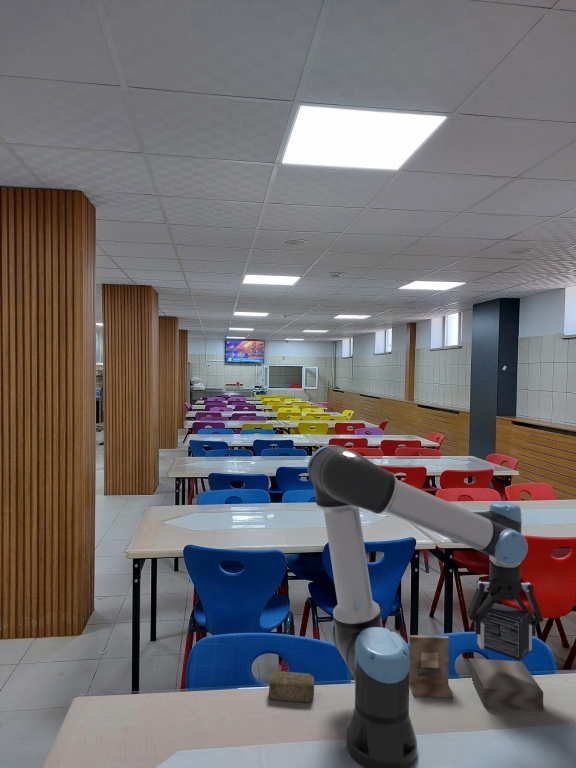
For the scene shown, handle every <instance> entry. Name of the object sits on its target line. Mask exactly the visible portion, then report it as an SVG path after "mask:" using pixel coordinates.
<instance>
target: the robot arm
mask: <svg viewBox="0 0 576 768" xmlns="http://www.w3.org/2000/svg"><path fill="white" fill-rule="evenodd" d="M307 474H308V478H309V480H310V482H311V483H312V484H313V490H314V497H315V502H316V506H317V507H318V508H320V509H321V510H322V511H323V513H324V522H325V526H326V527H325V528H326V536H327V540H328V541H327V543H328V549H329V554H330V555H329V556H330V561H331V567H332V574H333V583H334V588H335V594H336V601H337V605H335V607H334V608H333V611H332V616H333V618H332V619H333V620H332V624H331V636H332V639H333V643H334V646H335V648H336V650H337V651H338V653H339V654H340V655H341V658H342V659H343V660H344V662H345V664H346V666H347V667H348V669H349V670H350V672H351V674H352V676H353V679H354V709H353V712H352V714H351V717H350V720H349V723H348V726H347V728H346V729H347V730H346V749H347V752H348V753H349V754H350V757H352V758H353V760H354V761H356V762H357V763H358V764H359V765H361V766H362V767H365V768H410V767H411V766H412V765H414V763H415V761H416V759H417V753H418V740H417V737H416V734H415V730H414V727H413V724H412V723H413V722H412V719H411V716H410V712H409V711H410V685H409V675H410V658H409V657H410V648H409V646H408V644H407V642H406V640H405V639H404V638H403V636H401V635H400V634H399V633H397V632H396V631H391V630H390V629H389V628H385V627H384V626H383V621H382V620H383V619H382V613H381V608H380V605H379V604H378V603H377V602H375V601H374V600H373V594H372V588H371V582H370V581H371V580H370V575H369V569H368V568H369V566H368V561H367V554H366V549H365V541H364V533H363V528H362V520H361V514H360V509H364V510H367V511H369V512H371V513H374V514H377V515H380V514H383V513H386V514H389V515H392V516H393V517H396V518H399V519H401V520H404V521H405V522H408V523H411V524H414V525H416V526H419V527H421V528H423V529H425V530H428V531H431V532H433V533H435V534H437V535H440V536H443V537H445V538H448V539H449V541H451V542H452V543H454V544H461V545H464V546H467V547H470V548H472V549H475V550H476V551H478V552H481V553H484V554H486V555H488V557H489V561H490V562H489V578H488V581H481V580H480V579H478V580H477V581H476V589H475V592H474V594H473V596H472V599H471V602H470V603H469V607H468V609H467V612H466V616H467V617H468V618H469V619H470V621H473V631H474V633H475V634H476V635H477V645H478V647H479V649H480V650H484V649H485V648H484V623H483V621H482V620H483V618H484V617H485V616H486V614H487V613H488V611H489V610H490V609H491V607H492V606H493V605H494V603H498V601H499V600H500V601H506V600H507V601H513V600H514V601H515V603H516V604H517V605H518V607H519V609H520V610H522V611H524V612H528V613H529V651H533V650H532V649H533V647H532V646H533V637H535V635H536V626H538V623H543V621H544V617H543V615H542V612H541V610H540V607H539V604H538V602H537V599H536V596H535V594H534V593H535V592H534V589H535V587H534V585H533V584H532V583H530V582H529V581H525V582H522V581H521V579H522V577H521V576H522V571H521V570H522V567H521V565H520V564H521V563H522V561H524V559H526V556H527V554H528V551H529V545H528V541H527V539H526V538H525V536H524V535H523V534H522V523H523V521H522V511H521V507H520V506H519V505H518V504H517V503H513V502H510V501H509V502H508V501H493V502H491V503H490V505H489V510H488V511H470V510H468V509H466V508H464V507H461V506H458V505H457V504H454V503H452V502H449V501H447V500H445V499H443V498H440V497H438V496H435V495H433V494H431V493H428V492H427V491H424V490H423V489H419V488H417V487H415V486H413V485H410V484H408V483H406V482H403V481H401V480H398V479H397V477H396V475H395V473H394V472H392V471H389V470H387V469H384V468H383V467H381V466H379V465H377V464H376V463H374V462H373V461H371V460H369V459H368V458H366V457H364V456H363V455H361V454H360V453H358V452H355V451H353V450H351V449H350V450H349V449H348V448H346V447H344V446H341V445H338V444H328V445H324V446H321V447H319V448H318V449H316V450H315V451H314V452H313V453H312V455H311V456H310V458H309V460H308V463H307ZM488 588H489V589H490V590H489V592H488V593H487V596H486V597H485V599H484V600H483V598H484V595H485V592H486V591H487V589H488ZM522 589H523V591H524V592H525V595H526V598H527V600H528V603H529V606H530V607H531V611H532V613H531V612H530V609H528V607H527V606H526V604H525V603H524V601H523V600H522V598H521V596H520V595H519V594H520V592H521V591H522ZM482 600H483V601H482ZM532 614H533V615H532Z"/></svg>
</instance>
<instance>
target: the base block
mask: <svg viewBox="0 0 576 768" xmlns="http://www.w3.org/2000/svg"><path fill="white" fill-rule="evenodd" d="M468 676H469V679H470V678H472V681H473V683H472V685H473V687H474V689H475V691H476V693H477V695H478V698H479V699H480V701H481V704H482V706H483V707H484V708H487V709H488V708H490V709H505V710H521V711H533V712H544V691H543V690H542V688H541V687H540V686H539V683H537V681H536V679H535V678H534V677H533V675H532V674H531V673H530V671H529V669H528V668H527V667H526V665H525V664H524V663H523V660H522V661H519V660H503V659H502V660H501V659H487V658H485V659H483V658H471V657H470V658H468ZM472 681H471V682H472Z"/></svg>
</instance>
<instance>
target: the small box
mask: <svg viewBox="0 0 576 768" xmlns="http://www.w3.org/2000/svg"><path fill="white" fill-rule="evenodd" d="M482 621H483V623H484V649H486V650H488V651H492V652H493V653H496V654H499V655H502V656H505V657H509V658H511V659H513V660H515V661H522V662H523V660H524V659H525V658H526V657H527V656H528V654H529V653H530V650H529V613H528V612H524V611H522V610H521V609H518V608H514V607H511V606H508V605H505V604H500V603H498V602H496V603H494V605H493V606H492V607H491V609H490V610H489V611H488V613H487V614H486V616H485V617H484V618H483V620H482Z"/></svg>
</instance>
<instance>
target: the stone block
mask: <svg viewBox="0 0 576 768" xmlns="http://www.w3.org/2000/svg"><path fill="white" fill-rule="evenodd" d="M268 687H269V688H268V698H270V699H272V700H278V701H283V702H284V701H285V702H295V703H297V702H298V703H299V702H300V703H310V702H313V698H314V693H315V678H314V675H312V674H311V673H308V672H306V673H305V672H294V671H284V670H283V671H279V670H275V671H273V673H272V675H271V677H270V678H269V685H268Z"/></svg>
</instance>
